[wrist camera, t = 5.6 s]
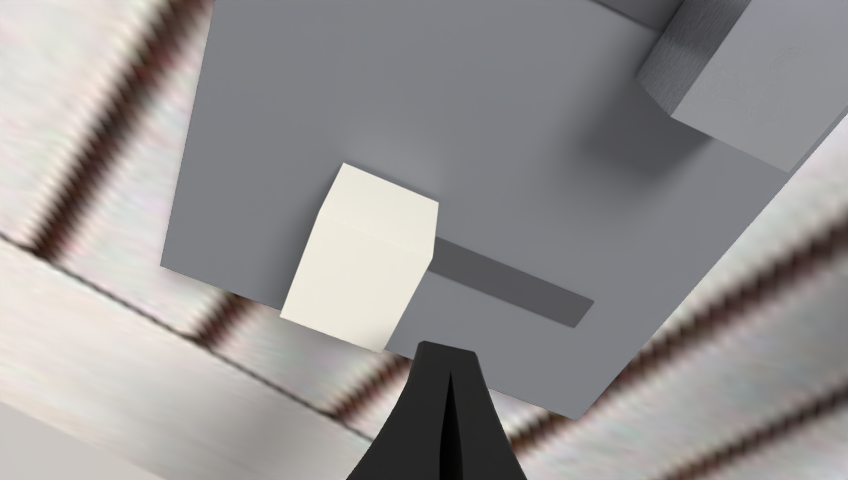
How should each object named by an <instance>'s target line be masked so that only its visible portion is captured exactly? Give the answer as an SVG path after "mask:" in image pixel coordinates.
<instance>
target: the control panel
mask: <svg viewBox="0 0 848 480" xmlns="http://www.w3.org/2000/svg"><path fill="white" fill-rule="evenodd" d="M683 1H684V0H215V5H214V10H213V14H212V19H211V24H210V29H209V34H208V38H207V43H206V48H205V53H204V57H203V62H202V67H201V72H200V77H199V81H198V86H197V91H196V96H195V101H194V105H193V110H192V115H191V120H190V125H189V129H188V134H187V139H186V144H185V149H184V153H183V158H182V163H181V168H180V172H179V177H178V182H177V187H176V192H175V196H174V201H173V206H172V211H171V216H170V220H169V225H168V230H167V235H166V240H165V244H164V249H163V254H162V259H161V263H160V266H162V267H165V268H167V269H170V270H173V271H175V272H178V273H181V274H183V275H186V276H189V277H192V278H194V279H197V280H200V281H202V282H205V283H208V284H210V285H213V286H216V287H218V288H221V289H224V290H227V291H229V292H232V293H235V294H237V295H240V296H243V297H245V298H248V299H251V300H253V301H256V302H259V303H262V304H264V305H267V306H270V307H272V308H275V309H278V310H280V311H282V309H283V306H284V304H285V301H286V298H287V296H288V293H289V290H290V288H291V285H292V282H293V280H294V277H295V274H296V272H297V269H298V266H299V264H300V261H301V258H302V256H303V253H304V251H305V248H306V245H307V243H308V240H309V237H310V235H311V232H312V229H313V227H314V224H315V221H316V219H317V216H318V213H319V211H320V209H321V207H322V205H323V203H324V201H325V199H326V197H327V195H328V193H329V191H330V189H331V187H332V185H333V183H334V181H335V179H336V177H337V175H338V173H339V171H340V169H341V167H342V165H343V163H346V164H348V165H350V166H353V167H355V168H357V169H360V170H362V171H365V172H367V173H369V174H372V175H374V176H377V177H379V178H381V179H384V180H386V181H388V182H391V183H393V184H396V185H398V186H400V187H403V188H405V189H407V190H410V191H412V192H415V193H417V194H419V195H422V196H424V197H427V198H429V199H431V200H434V201H436V202H438V203H439V204H438V213H437V222H436V231H435V240H434V249H433V258H432V260H431V262H430V264H429V266H428V267H427V269H426V271H425V273H424V275H423V277H422V279H421V281H420V282H419V284H418V286H417V288H416V290H415V292H414V294H413V296H412V297H411V299H410V301H409V303H408V305H407V307H406V309H405V311H404V312H403V314H402V316H401V318H400V320H399V322H398V324H397V326H396V327H395V329H394V331H393V333H392V335H391V337H390V339H389V341H388V342H387V344H386V346H385V348H384V349H385V350H388V351H391V352H393V353H396V354H399V355H402V356H404V357H407V358H410V359H412V360H414V356H415V353H416V349H417V346H418V343H419V342H422V341H424V340H425V341H429V342H434V343H438V344H442V345H447V346H451V347H456V348H460V349H465V350H469V351H474V352H475V353H476V355H477V356H478V360H479V364H480V367H481V370H482V374H483V377H484V380H485V383H486V386H487V387H488V388H490V389H493V390H496V391H498V392H501V393H504V394H507V395H509V396H512V397H515V398H517V399H520V400H523V401H525V402H528V403H531V404H533V405H536V406H539V407H542V408H544V409H547V410H550V411H552V412H555V413H558V414H560V415H563V416H566V417H569V418H571V419H574V420H577V421H578V420H579V418H580V417H581V416H582V415H583V414H584V413H585V412H586V411H587V409H588V408H589V407H590V406H591V405H592V404H593V403H594V401H595V400H596V399H597V398H598V397H599V396H600V395H601V393H602V392H603V391H604V390H605V389H606V388H607V387H608V385H609V384H610V383H611V382H612V381H613V380H614V379H615V377H616V376H617V375H618V374H619V373H620V372H621V371H622V370H623V368H624V367H625V366H626V365H627V364H628V363H629V362H630V360H631V359H632V358H633V357H634V356H635V355H636V354H637V352H638V351H639V350H640V349H641V348H642V347H643V346H644V344H645V343H646V342H647V341H648V340H649V339H650V338H651V337H652V335H653V334H654V333H655V332H656V331H657V330H658V329H659V327H660V326H661V325H662V324H663V323H664V322H665V321H666V319H667V318H668V317H669V316H670V315H671V314H672V313H673V311H674V310H675V309H676V308H677V307H678V306H679V305H680V304H681V302H682V301H683V300H684V299H685V298H686V297H687V296H688V294H689V293H690V292H691V291H692V290H693V289H694V288H695V286H696V285H697V284H698V283H699V282H700V281H701V280H702V278H703V277H704V276H705V275H706V274H707V273H708V272H709V270H710V269H711V268H712V267H713V266H714V265H715V264H716V263H717V261H718V260H719V259H720V258H721V257H722V256H723V255H724V253H725V252H726V251H727V250H728V249H729V248H730V247H731V245H732V244H733V243H734V242H735V241H736V240H737V239H738V237H739V236H740V235H741V234H742V233H743V232H744V231H745V230H746V228H747V227H748V226H749V225H750V224H751V223H752V222H753V220H754V219H755V218H756V217H757V216H758V215H759V214H760V212H761V211H762V210H763V209H764V208H765V207H766V206H767V204H768V203H769V202H770V201H771V200H772V199H773V198H774V197H775V195H776V194H777V193H778V192H779V191H780V190H781V189H782V187H783V186H784V185H785V184H786V183H787V182H788V181H789V179H790V178H791V177H792V176H793V175H794V174H795V173H796V171H797V170H798V169H799V168H800V167H801V166H802V165H803V163H804V162H805V161H806V160H807V159H808V158H809V157H810V156H811V154H812V153H813V152H814V151H815V150H816V149H817V148H818V146H819V145H820V144H821V143H822V142H823V141H824V140H825V138H826V137H827V136H828V135H829V134H830V133H831V132H832V130H833V129H834V128H835V127H836V126H837V125H838V124H839V123H840V121H841V120H842V119H843V118H844V117H845V116H846V115H847V113H848V105H847V106H846V107H845V108H844V110H843V111H842V112H841V113H840V114H839V115H838V117H837V118H836V119H835V120H834V121H833V122H832V123H831V125H830V126H829V127H828V128H827V129H826V130H825V131H824V133H823V134H822V135H821V136H820V137H819V138H818V139H817V141H816V142H815V143H814V144H813V145H812V146H811V148H810V149H809V150H808V151H807V152H806V153H805V154H804V156H803V157H802V158H801V159H800V160H799V161H798V162H797V164H796V165H795V166H794V167H793V168H792V169H791V170H790V172H789V173H787V172H785V171H783V170H781V169H779V168H777V167H775V166H773V165H771V164H768V163H766V162H764V161H762V160H760V159H758V158H756V157H754V156H752V155H750V154H747V153H745V152H743V151H741V150H739V149H737V148H735V147H733V146H731V145H729V144H726V143H724V142H722V141H720V140H718V139H716V138H714V137H712V136H710V135H708V134H706V133H703V132H701V131H699V130H697V129H695V128H693V127H691V126H689V125H687V124H685V123H682V122H680V121H678V120H676V119H674V118H672V117H670V116H669V115H668V114H667V113H666V111H665V110H664V109H663V108H662V107H661V106H660V105H659V104H658V103H657V102H656V101H655V100H654V98H653V97H652V96H651V95H650V94H649V93H648V92H647V91H646V90H645V89H644V88H643V87H642V86H641V84H640V83H639V82H638V81H637V80H636V79H635V77H636V75H637V73H638V72H639V70H640V69H641V67H642V66H643V64H644V62H645V61H646V59H647V58H648V56H649V55H650V53H651V51H652V50H653V48H654V47H655V45H656V44H657V42H658V41H659V39H660V37H661V36H662V34H663V33H664V31H665V30H666V28H667V26H668V25H669V23H670V22H671V20H672V19H673V17H674V15H675V14H676V12H677V11H678V9H679V8H680V6H681V4H682V3H683Z"/></svg>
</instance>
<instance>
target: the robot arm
mask: <svg viewBox="0 0 848 480" xmlns="http://www.w3.org/2000/svg"><path fill="white" fill-rule="evenodd" d="M346 480H527V478H526V476H525V474H524V472H523V470H522V468H521V466H520V464H519V462H518V460H517V458H516V456H515V454H514V452H513V450H512V448H511V446H510V444H509V441H508V439H507V437H506V435H505V432H504V430H503V427H502V425H501V423H500V420H499V418H498V415H497V413H496V410H495V408H494V405H493V403H492V400H491V397H490V394H489V392H488V389H487V386H486V383H485V380H484V377H483V374H482V370H481V367H480V364H479V360H478V356H477V355H476V353H475V352H474V351H469V350H465V349H460V348H456V347H451V346H447V345H442V344H438V343H434V342H429V341H425V340H424V341H422V342H419V343H418V346H417V349H416V353H415V356H414V360H413V363H412V366H411V370H410V373H409V377H408V380H407V383H406V385H405V387H404V389H403V391H402V393H401V395H400V397H399V399H398V401H397V403H396V405H395V407H394V409H393V410H392V412H391V414H390V415H389V417H388V419H387V420H386V422H385V424H384V426H383V427H382V429H381V431H380V432H379V434H378V435H377V437H376V438H375V440H374V441H373V443H372V445H371V446H370V447H369V449H368V450H367V452H366V453H365V455H364V456H363V457H362V459H361V460H360V462H359V463H358V464H357V466H356V467H355V468H354V470H353V471H352V472H351V474H350V475H349V476H348V478H347V479H346Z"/></svg>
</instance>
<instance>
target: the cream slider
mask: <svg viewBox="0 0 848 480" xmlns="http://www.w3.org/2000/svg"><path fill="white" fill-rule="evenodd" d="M438 204H439V203H438V202H436V201H434V200H431V199H429V198H427V197H424V196H422V195H419V194H417V193H415V192H412V191H410V190H407V189H405V188H403V187H400V186H398V185H396V184H393V183H391V182H388V181H386V180H384V179H381V178H379V177H377V176H374V175H372V174H369V173H367V172H365V171H362V170H360V169H357V168H355V167H353V166H350V165H348V164H346V163H343V165H342V167H341V169H340V171H339V173H338V175H337V177H336V179H335V181H334V183H333V185H332V187H331V189H330V191H329V193H328V195H327V197H326V199H325V201H324V203H323V205H322V207H321V209H320V211H319V213H318V216H317V219H316V221H315V224H314V227H313V229H312V232H311V235H310V237H309V240H308V243H307V245H306V248H305V251H304V253H303V256H302V258H301V261H300V264H299V266H298V269H297V272H296V274H295V277H294V280H293V282H292V285H291V288H290V290H289V293H288V296H287V298H286V301H285V304H284V306H283V309H282V312H281V314H280V317H282V318H284V319H287V320H290V321H292V322H295V323H298V324H301V325H303V326H306V327H309V328H311V329H314V330H317V331H319V332H322V333H325V334H328V335H330V336H333V337H336V338H338V339H341V340H344V341H347V342H349V343H352V344H355V345H357V346H360V347H363V348H365V349H368V350H371V351H374V352H376V353H379V354H382V352H383V350H384V348H385V346H386V344H387V342H388V341H389V339H390V337H391V335H392V333H393V331H394V329H395V327H396V326H397V324H398V322H399V320H400V318H401V316H402V314H403V312H404V311H405V309H406V307H407V305H408V303H409V301H410V299H411V297H412V296H413V294H414V292H415V290H416V288H417V286H418V284H419V282H420V281H421V279H422V277H423V275H424V273H425V271H426V269H427V267H428V266H429V264H430V262H431V260H432V258H433V249H434V240H435V231H436V222H437V213H438Z"/></svg>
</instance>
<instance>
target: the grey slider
mask: <svg viewBox="0 0 848 480" xmlns="http://www.w3.org/2000/svg"><path fill="white" fill-rule="evenodd" d="M635 79H636V80H637V81H638V82H639V83H640V84H641V86H642V87H643V88H644V89H645V90H646V91H647V92H648V93H649V94H650V95H651V96H652V97H653V98H654V100H655V101H656V102H657V103H658V104H659V105H660V106H661V107H662V108H663V109H664V110H665V111H666V113H667V114H668V115H669V116H670V117H672V118H674V119H676V120H678V121H680V122H682V123H685V124H687V125H689V126H691V127H693V128H695V129H697V130H699V131H701V132H703V133H706V134H708V135H710V136H712V137H714V138H716V139H718V140H720V141H722V142H724V143H726V144H729V145H731V146H733V147H735V148H737V149H739V150H741V151H743V152H745V153H747V154H750V155H752V156H754V157H756V158H758V159H760V160H762V161H764V162H766V163H768V164H771V165H773V166H775V167H777V168H779V169H781V170H783V171H785V172H787V173H789V172H790V170H791V169H792V168H793V167H794V166H795V165H796V164H797V162H798V161H799V160H800V159H801V158H802V157H803V156H804V154H805V153H806V152H807V151H808V150H809V149H810V148H811V146H812V145H813V144H814V143H815V142H816V141H817V139H818V138H819V137H820V136H821V135H822V134H823V133H824V131H825V130H826V129H827V128H828V127H829V126H830V125H831V123H832V122H833V121H834V120H835V119H836V118H837V117H838V115H839V114H840V113H841V112H842V111H843V110H844V108H845V107H846V106H847V105H848V0H684V1H683V3H682V4H681V6H680V8H679V9H678V11H677V12H676V14H675V15H674V17H673V19H672V20H671V22H670V23H669V25H668V26H667V28H666V30H665V31H664V33H663V34H662V36H661V37H660V39H659V41H658V42H657V44H656V45H655V47H654V48H653V50H652V51H651V53H650V55H649V56H648V58H647V59H646V61H645V62H644V64H643V66H642V67H641V69H640V70H639V72H638V73H637V75H636V77H635Z"/></svg>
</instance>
